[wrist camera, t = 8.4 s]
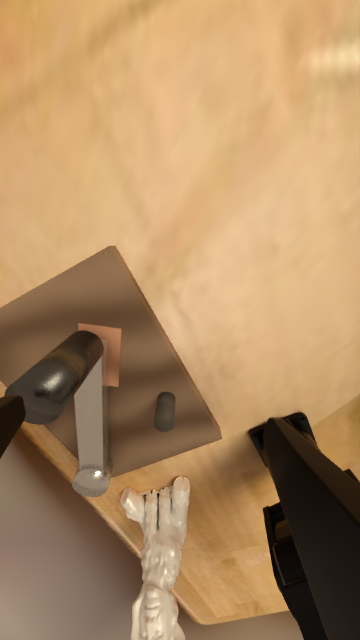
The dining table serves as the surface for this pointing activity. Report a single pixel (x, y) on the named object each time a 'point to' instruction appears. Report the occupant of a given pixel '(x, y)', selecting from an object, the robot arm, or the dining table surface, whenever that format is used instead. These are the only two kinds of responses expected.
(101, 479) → the lever
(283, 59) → the dining table surface
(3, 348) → the board
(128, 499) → the sitting furry creature
